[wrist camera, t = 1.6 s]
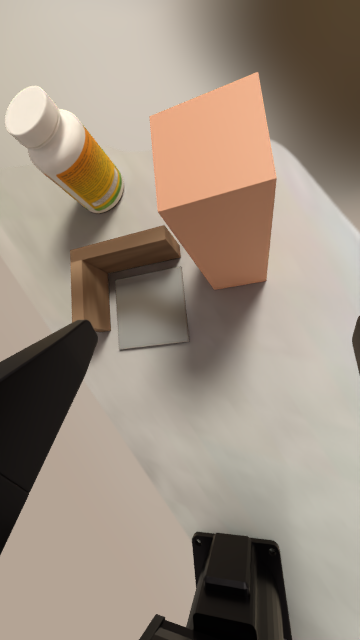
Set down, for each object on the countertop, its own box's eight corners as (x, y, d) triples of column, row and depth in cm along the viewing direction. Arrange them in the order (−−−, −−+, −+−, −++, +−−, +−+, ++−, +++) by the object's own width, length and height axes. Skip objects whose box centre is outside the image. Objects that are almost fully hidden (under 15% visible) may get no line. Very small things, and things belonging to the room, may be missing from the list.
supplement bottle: (131, 169, 26) (63, 72, 17) (117, 217, 26) (40, 144, 17) (91, 167, 28) (9, 78, 19) (77, 212, 28) (-12, 143, 19)
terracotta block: (266, 280, 21) (276, 177, 8) (214, 289, 22) (158, 211, 10) (258, 232, 21) (257, 71, 9) (208, 243, 23) (149, 116, 10)
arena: (189, 341, 22) (174, 339, 18) (101, 351, 25) (72, 351, 21) (179, 245, 24) (164, 225, 20) (97, 264, 26) (70, 250, 22)
